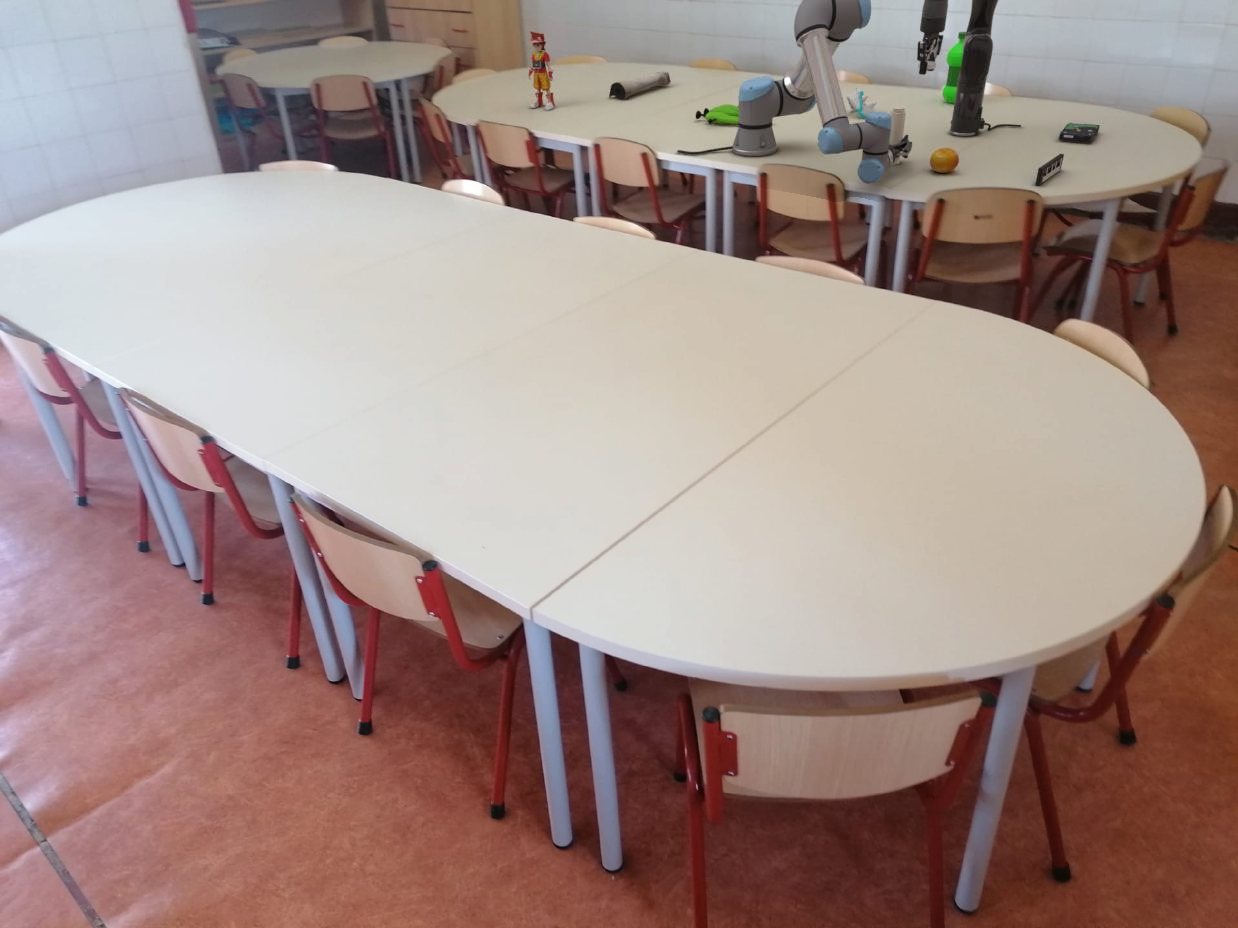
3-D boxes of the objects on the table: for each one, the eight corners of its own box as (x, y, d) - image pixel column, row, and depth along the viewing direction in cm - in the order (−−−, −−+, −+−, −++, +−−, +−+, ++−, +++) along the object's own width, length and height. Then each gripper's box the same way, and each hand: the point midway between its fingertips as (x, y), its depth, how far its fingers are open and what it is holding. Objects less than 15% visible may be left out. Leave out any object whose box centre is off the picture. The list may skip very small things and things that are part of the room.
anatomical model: (842, 87, 348) (867, 80, 347) (844, 114, 354) (869, 107, 353) (853, 96, 336) (879, 89, 335) (855, 124, 342) (881, 117, 341)
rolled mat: (651, 76, 408) (662, 61, 399) (662, 93, 408) (674, 79, 400) (605, 92, 391) (616, 77, 383) (617, 110, 391) (628, 95, 383)
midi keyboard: (1039, 185, 269) (1043, 168, 266) (1035, 184, 270) (1038, 168, 267) (1060, 170, 279) (1064, 154, 277) (1056, 169, 280) (1060, 153, 277)
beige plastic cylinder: (891, 160, 298) (897, 105, 288) (902, 162, 295) (909, 107, 285) (882, 162, 296) (889, 107, 286) (893, 165, 293) (900, 110, 283)
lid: (915, 68, 291) (915, 63, 290) (923, 65, 294) (924, 60, 293) (930, 70, 287) (930, 65, 287) (938, 67, 290) (939, 62, 290)
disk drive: (1091, 144, 300) (1098, 132, 310) (1093, 136, 299) (1100, 124, 309) (1057, 141, 305) (1066, 130, 315) (1059, 133, 303) (1067, 121, 313)
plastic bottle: (973, 101, 354) (984, 32, 339) (955, 106, 349) (966, 36, 335) (952, 97, 361) (962, 29, 346) (934, 102, 356) (944, 33, 342)
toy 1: (525, 109, 381) (517, 32, 364) (534, 104, 388) (527, 28, 371) (550, 110, 377) (543, 32, 360) (559, 105, 384) (553, 28, 367)
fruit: (924, 163, 281) (941, 140, 278) (925, 165, 289) (941, 143, 286) (946, 178, 280) (963, 155, 277) (947, 180, 288) (963, 158, 285)
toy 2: (685, 123, 344) (756, 136, 332) (687, 109, 342) (758, 121, 329) (718, 112, 365) (786, 123, 352) (719, 98, 362) (788, 110, 350)
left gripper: (852, 168, 284) (870, 148, 301) (908, 173, 277) (924, 152, 294) (854, 144, 280) (873, 125, 297) (911, 148, 273) (927, 128, 290)
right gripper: (932, 11, 288) (924, 67, 298) (912, 18, 279) (905, 76, 289) (955, 12, 284) (946, 69, 294) (935, 19, 275) (927, 78, 285)
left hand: (898, 138), depth 296 cm, fingers closed on beige plastic cylinder, 4 cm apart
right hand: (926, 72), depth 291 cm, fingers closed on lid, 5 cm apart
